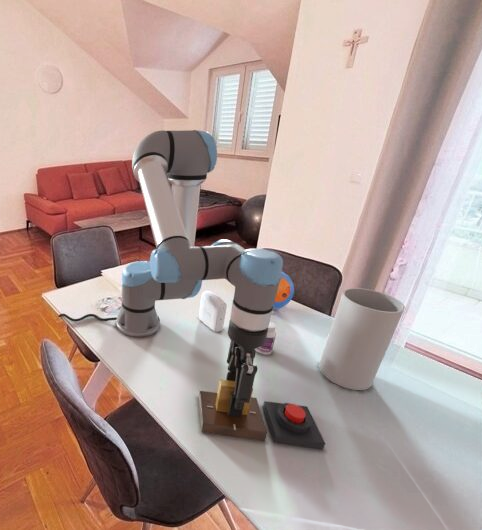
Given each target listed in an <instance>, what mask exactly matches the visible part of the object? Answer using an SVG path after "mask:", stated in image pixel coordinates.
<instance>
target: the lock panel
mask: <svg viewBox="0 0 482 530" xmlns="http://www.w3.org/2000/svg"><path fill="white" fill-rule="evenodd" d="M217 393H218V392H216V391H215V392H213V391H207V390H206V391H205V390H199V391H198V399H197V402H198V410H199V411H198V413H199V421H200V430H201V433H205V434H211V435H217V436H224V437H232V438H238V439H245V440H252V441H257V442H266V440H267V436H268V430H267V427H266V423H265V420H264V417H263V414H262V411H261V408H260V405H259V402H258V398H257V397H254V396H251V401H250V405H249V409H248V413H247V415H243V414H242V416H241V418H240V417H233V416H229V415H228V412H221V411H216V405H215V404H216V399H217Z"/></svg>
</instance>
